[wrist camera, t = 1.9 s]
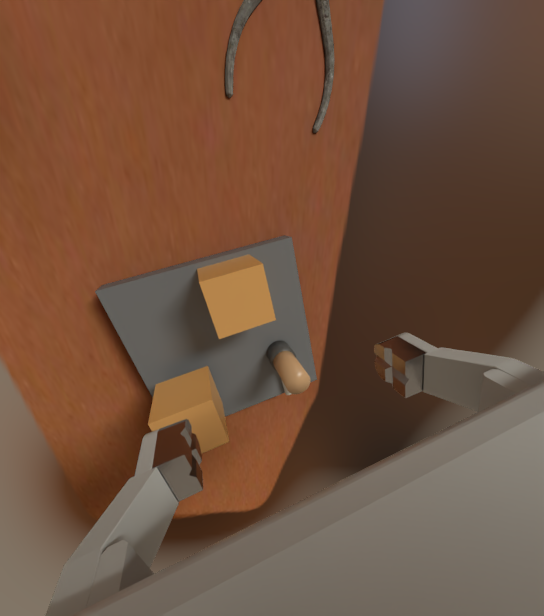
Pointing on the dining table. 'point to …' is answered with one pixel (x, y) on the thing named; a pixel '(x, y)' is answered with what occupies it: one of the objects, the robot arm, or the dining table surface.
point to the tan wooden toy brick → (236, 295)
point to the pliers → (326, 28)
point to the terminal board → (211, 342)
